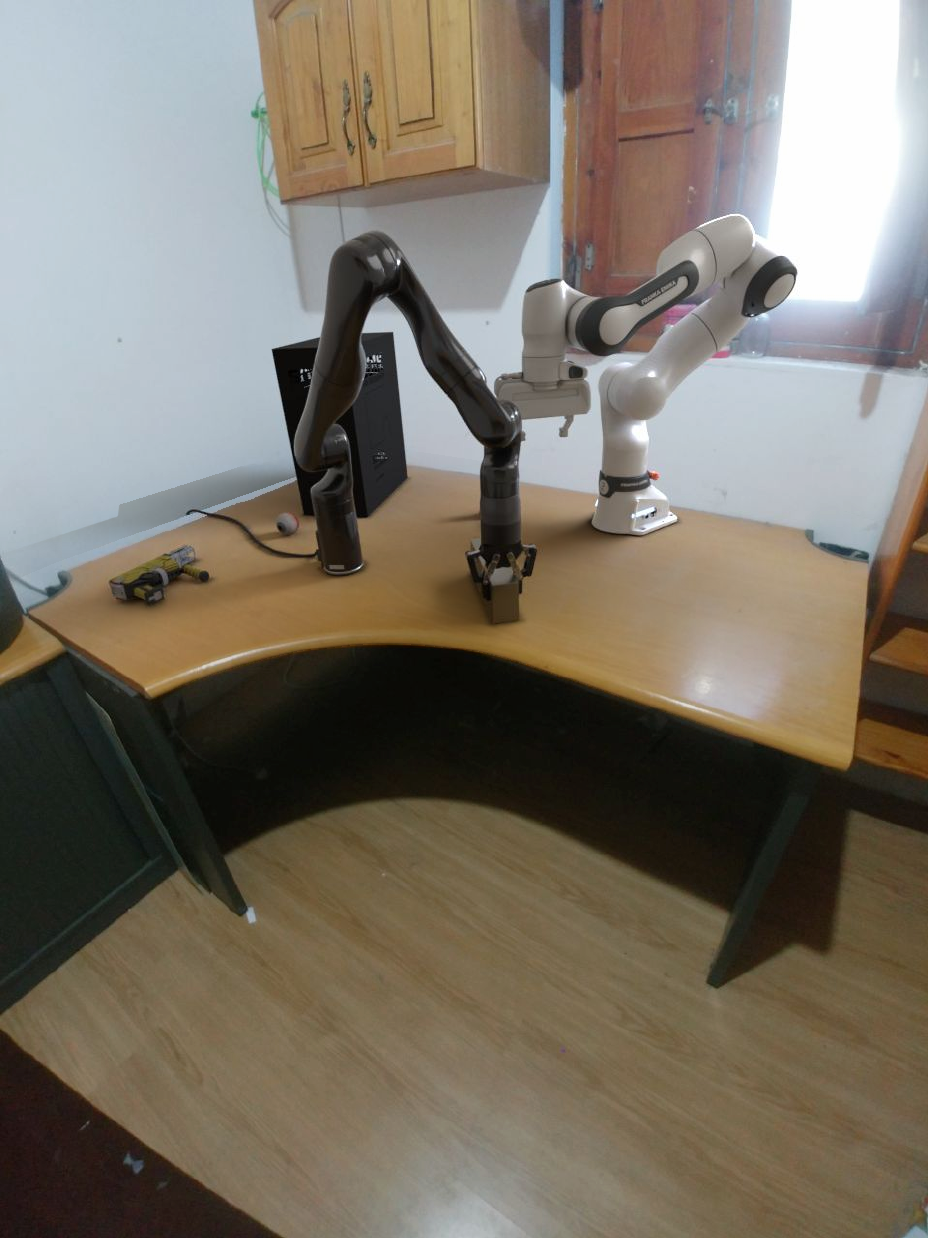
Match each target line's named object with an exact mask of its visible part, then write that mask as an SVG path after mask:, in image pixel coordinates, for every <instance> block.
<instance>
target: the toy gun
mask: <svg viewBox="0 0 928 1238" xmlns="http://www.w3.org/2000/svg"><path fill="white" fill-rule="evenodd" d="M191 553H193V556H190V554H191ZM196 560H197V556H196V551H195V547H194V546H192V545H189V546H188V545H187V544H184V545H182V546H180V547H177V548H176V549H174V550H171V551H170V552H168V553H163V554H161V555H159V556H157V557H155V558H153V559H151V560H149V561H147V562H145V563H142V564H139V565H138V566H136V567H133V568H132V569H129V570H128V571H125V572H123V573H121V574H119V575H117V576H115V577H113V578H111V579H110V580H108V583H109V587H110V591H111V594H112V597H113V598H115V600H117V601H118V600H119V601H120V602H121V601H122V602H123V601H125V600H126V601H131V600H135V599H143V600H144V601H145V605H146V607H150V606H153V605H155V604H157V603H159V602H162V601H164V600H165V596H164V591H163V590H164V589H163V588H164V587H166V586H168V585H169V581H171V580H173V579H175V578H178V577H181V575H182V574H184V575H185V576H189V577H191V578H194V579H196V580H199V581H200V582H202V583H205V582H207V581H209V580H210V573H209V572H208V571H207V570H202V569H200V568H198V567H195V566H192V565H191V564H190V563H192V562H193V561H196Z"/></svg>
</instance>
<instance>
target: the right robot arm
mask: <svg viewBox="0 0 928 1238" xmlns="http://www.w3.org/2000/svg"><path fill="white" fill-rule="evenodd" d="M655 272H656V276H655V277H653V278H651V279H650V280H648V281H647V282H645V283H643V284H642V285H640V286H638V287H637V288H635V289H633V290H631V291H630V292H628V293H627V294H624V295H619V296H616V295H615V296H603V297H601V296H590V295H588V294H585V293H583V292H581V291H579V290H577V289H575V288H573V287H571V286H570V285H569V284H568V283H566V282H565V280H564V279H562V278H550V279H545V280H542V281H538V282H534V283H533V284H531V285H529V286H528V287H527V289H526V290H525V291H524V295H523V301H522V308H521V336H522V340H523V341H522V342H523V346H522V351H521V371H519V372H512V373H511V372H510V373H501V374H500V375H499V376H498V377H496V378H495V379H494V382H493V392H494V393H493V394H494V396H495V398H496V399H497V400H508V401H510V402H512V403H513V404H515V405H516V407H517V408H518V409H519V411H520V414H521V418H522V421H525V420H534V419H535V420H536V419H546V418H547V419H548V418H557V417H559V418H560V417H564V420H565V422H564V424H563V426H562V427H559V428H558V436H559V438H567V437H568V436H569V429H570V427H571V426H572V424H573V422H574V417H575V416H577V415H578V416H579V415H587V414H588V413H589V412H590V411H591V408H592V391H591V385H590V382H589V381H588V380H587V379H586V378H587V377H588V376H589V368H588V367H586V366H585V365H582V364H579V363H576V362H574V361H572V360H566V352H567V349H568V348H573V349H578V350H581V351H585V352H587V353H590V354H591V355H593V356H597V357H610V356H612V355H615V354H616V353H618V352H619V351H621V350H622V349H624V347H625V345H627V344H628V342H629V341H630V340H631V339H632V337H633V336H634V335H635V334H636V333H637V332H638V331H639V330H640V329H641V328H643V327H644V326H646V325H647V324H648V323H650V322H651V321H653V320H654V319H656V318H658V317H659V316H662V315H663V314H664V313H666V312H668V311H669V310H671V309H672V308H673V307H675V306H677V305H678V304H679V303H681V302H683V301H684V300H686V299H688V298H691V297H693V296H695V295H697V294H698V293H701V292H702V291H705V290H706V289H708V288H711V286H713V285H715V284H717V285H718V286H719V287H718V289H717V291H716V292H715V294H713V296H711V297H710V298H708V299H707V300H705V301H703V302H702V303H700V304H699V305H697V306H696V307H695V308H694V309H692V310H691V311H690V312H688V313H687V314H686V315H685V316H683V317H682V318H681V319H680V320H678V321H677V322H676V323H674V324H673V325H672V326H671V327H670V328H668V329H667V330H666V331H665V332H664V333H662V334H661V335H660V336H659V337H658V338H657V340H656V341H655V344H654V345H653V347H652V348H651V349H650V350H649V352H648V353H647V354H646V355H645V356H644V357H643V358H642V359H641V360H640V361H639V362H638V363H636V364H634V363H631V362H618V363H615V364H612V365H610V366H608V367H607V368H605V369H604V371H602V373H601V375H600V377H599V379H598V382H597V389H598V394H599V405H600V416H601V417H600V419H601V420H600V421H601V431H602V453H601V468H600V470H599V474H598V492H599V493H598V498H597V500H596V503H595V511H594V514H593V517H592V520H591V525H592V526H593V527H594V528H595V529H597V530H599V531H601V532H605V533H611V534H623V535H625V534H626V535H632V536H633V535H634V536H645V535H646V534H650V533H652V532H654V531H657V530H660V529H662V528H665V527H668V526H670V525H672V524H675V523H677V522H678V516H677V515H676V514H675V513H674V512H672V511H670V503H669V502H670V501H669V498H668V497H667V496H666V495H665V494H664V493H663V492H661V491H660V490H659V489H658V488H656V487H655V486H654V485H652V483H651V480H653V481H658V479H659V478H660V473H659V472H657V471H654V470H651V471H649V470H648V469H647V466H648V458H649V457H648V455H649V446H650V438H649V434H648V429H647V421H648V420H651V419H653V418H655V417H657V416H658V415H659V414H660V413H661V412H662V410H663V409H664V407H665V406H666V403H667V400H668V399H669V397H670V396H671V395H672V393H673V392H674V391H675V390H676V389H677V388H678V387H679V386H680V385H681V384H682V382H683V381H684V380H685V379H686V378H688V377H689V376H690V375H691V374H692V373H693V372H695V371H696V370H697V369H699V368H700V367H701V366H702V365H704V363H706V362H707V361H708V360H709V359H711V358H712V357H713V356H715V355H716V354H717V353H719V352H720V351H721V350H722V349H723V348H725V347H726V346H728V344H729V343H730V342H731V341H733V339H735V337H737V335H738V334H739V333H740V332H741V331H742V330H743V329H744V328H745V326H747V325H748V323H749V321H750V319H751V318H755V317H758V316H760V315H762V314H766V313H767V312H770V311H771V310H774V309H775V308H777V307H778V306H780V305H781V304H782V303H783V302H784V301H786V299H787V298H788V297H789V296H790V294H791V293H792V291H793V289H794V288H795V285H796V282H797V278H798V269H797V267H796V265H795V263H794V262H793V261H792V259H791V258H790V257H789V256H788V255H786V254H784V253H783V252H781V250H779V249H778V248H777V247H776V246H775V245H774V244H773V243H771V242H770V241H769V240H767V239H765V238H763V237H761V236H759V235H757V234H755V230H754V228H753V225H752V224H751V222H750V220H749V219H748V218H747V217H745V215H741V214H738V213H734V214H733V213H732V214H729V215H726V216H722V217H719V218H716V219H713V220H711V221H708V222H706V223H704V224H701V225H700V226H698V227H696V228H694V229H692V230H690V231H688V232H687V233H684V234H682V235H681V236H679V237H678V238H676V239H675V240H674V241H672V242H671V243H670V244H668V246H666V247H665V248H664V249H663V250H662V251H661V252H660V253H659V256H658V259H657V263H656V268H655ZM526 436H527V435H526V432H525V431H524V430H522V437H521V442H525V441H526Z"/></svg>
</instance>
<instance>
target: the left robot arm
mask: <svg viewBox="0 0 928 1238" xmlns="http://www.w3.org/2000/svg"><path fill="white" fill-rule="evenodd" d="M326 284H327V285H326V293H325V307H324V315H323V320H322V326H321V331H320V336H319V337H320V341H319V346H318V350H317V354H316V358H315V362H314V367H313V372H312V378H311V377H310V378H311V384H310V385H309V386H310V389H309V393H308V397H307V401H306V405H305V408H304V411H303V414H302V417H301V420H300V423H299V425H298V428H297V431H296V434H295V440H294V453H295V457H296V460H297V463H298V464H299V466H300V467H301V468H302V469H303V470H305V471H307V472H319V471H323V470H327V469H328V471H327V473H326V475H325V476H324V477H323V478H322V479H321V480H320V481H319V482H317V483H316V484H315V485H314V486H313V487H312V488H311V498H312V503H313V508H314V514H315V515H314V518H315V523H316V530H315V532H314V533H315V538H316V539H315V540H316V543H317V548H316V549H315V551H314V553H308V554H307V553H306V554H300V553H292V552H286V551H280V550H276V549H274V548H272V547H270V546H268V545H265V544H264V543H262V542H261V541H260V540H259V539H257V538H256V537H255V536H254V534H253V533H252V532H251V531H250V530H249V528H247V527H246V526H245V524H243V523H242V522H240V521H239V520H237V519H235V518H232V517H230V516H227V515H223V514H219V513H212V512H208V511H207V512H206V511H203V510H200V509H195V508H194V509H193V508H192V509H189V510H187V512H186V513H185V515H187V516H188V515H190V514H192V513H199V514H201V515H205V516H210V517H216V518H222V519H225V520H228V521H231V522H233V523H235V524H237V525H239V526H240V527H241V528H242V529H243V530H244V531H245V532H246V533H247V534H248V536H249V537H250V539H252V540H253V541H254V542H255V543H256V544H258V545H259V546H260V547H262V548H263V549H265V550H267V551H269V552H272V553H274V554H277V555H282V556H288V557H294V558H314V557H317V558H316V559H317V561H318V562H320V565H321V568H322V569H323V570H324V572H325V573H326V574H329V575H331V576H347V575H352V574H355V573H358V572H359V571H361V570H362V569H363V568H364V565H365V564H364V563H365V562H364V559H363V552H362V545H361V538H360V533H359V532H360V531H359V526H358V524H359V523H358V519H357V518H358V517H356V511H355V505H354V498H353V475H352V465H351V454H350V446H349V441H348V438H347V435H346V433H345V431H344V429H343V428H342V427H341V426H340V425H339V424H337V423H335V422H336V421H337V420H338V419H339V418H340V417H341V416H342V415H343V414H344V413H345V412H346V411H347V410H348V409H349V408H350V407H351V406H352V404H353V403H354V402H355V400H356V399H357V397H358V395H359V393H360V390H361V386H362V383H363V380H364V377H365V372H366V368H367V363H366V355H365V352H364V349H363V346H362V343H361V335H362V333H363V330H364V327H365V324H366V321H367V318H368V316H369V313H370V312H371V310H372V308H373V307H374V306H375V304H377V303H379V302H381V301H382V300H384V299H386V298H387V299H388V300H389V301H390V302H391V303H392V304H393V305H394V306H395V307H396V308H397V309H398V310H399V311H400V313H401V314H402V315H403V317H404V318H405V320H406V322H407V324H408V326H409V328H410V330H411V333H412V336H413V339H414V342H415V346H416V348H417V352H418V354H419V355H418V356H419V357H420V360H421V363H422V365H423V367H424V369H425V371H427V373H428V375H429V376H430V377H431V379H432V380H433V381H434V382H435V383H436V385H437V386H438V387H439V388H440V389H441V391H442V392H443V393H444V395H446V397H447V398H448V399H449V400H450V401H451V402H452V403H453V404H454V407H455V408H456V410H457V412H458V413H459V415H460V417H461V419H462V420H463V422H464V424H465V426H466V427H467V429H468V430H469V432H470V433H471V435H472V436H473V437H474V439H475V440H477V441H478V442H479V444H481V446H483V460H482V461H481V463H480V468H479V487H480V498H479V512H478V513H479V515H478V516H479V522H480V523H479V524H480V527H479V528H480V538H481V545H480V547H479V550H476V551H473V552H471V550H466V551H465V553H464V555H465V559H466V562H467V565H468V569H469V573H470V575H471V579H472V581H473V582H474V584H476V583H481V591H482V595H483V598H484V599H486V601H490V584H489V581H490V579H491V576H492V575H493V573H494V571H495V569H499V568H502V567H506V568H508V567H510V568H511V570H512V571H513V573H514V575H515V577H516V578H517V580H518V582H519V595H522V594H523V580H524V579H525V578H531V577H532V575H533V573H534V568H535V564H536V559H537V555H538V549H537V547H536V546H535V544H533V543H529V544H523V542H522V501H521V496H520V495H521V494H520V467H519V466H520V456H521V446H522V441H521V437H522V431H523V420H522V418H521V414H520V411H519V409H518V408H517V407H516V405H515V404H513V403H512V402H510V401H508V400H497V399H496V395H495V394H494V393H493V392H492V391H491V390H490V387H489V386H488V381H487V380H488V379H487V377H486V374H485V373H484V371H483V370H482V368H481V367H480V366H479V365H478V363H477V362H476V361H475V360H474V359H473V358H472V356H471V355H470V354H469V352H468V351H467V350H466V348H465V347H463V345H462V344H461V343H460V341H459V340H458V339H457V338H456V336H455V335H454V334H453V332H452V331H451V329H450V327H448V325H447V324H446V322H445V321H444V319H443V317H442V315H441V314H440V313H439V311H438V310H437V307H436V305H435V304H434V302H433V301H432V299H431V297H430V296H429V294H428V292H427V291H426V289H425V287H424V286H423V284H422V282H421V281H420V279H419V278H418V276H417V274H416V272H415V271H414V269H413V267H412V266H411V264H410V262H409V260H408V259H407V257H406V255H405V253H403V251H402V250H401V248H400V247H399V245H398V244H397V243H396V241H395V240H394V239H393V238H392V237H391V236H390V235H389V234H387V233H385V232H384V231H380V230H369V231H367V232H364V233H362V234H360V235H358V236H355V237H353V238H351V239H349V240H347V241H345V242H343V243H341V244H340V245H339V246H338V247H336V249H335V250H334V252H333V253H332V255H331V258H330V261H329V266H328V272H327V283H326ZM366 373H367V372H366ZM522 553H523V554H524V556H525V558H524V562H523V567H522V568H521V569H520V566H519V565H518V561H517V560H518V559H519V557H520V556H521V554H522ZM479 556H481V557H482V558H483V559H484V560H485V563H484V567H483V571H482V574H478V572H477V568H476V565H475V563H477V562H478V558H479ZM483 598H482V599H483Z"/></svg>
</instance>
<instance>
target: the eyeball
mask: <svg viewBox="0 0 928 1238" xmlns="http://www.w3.org/2000/svg"><path fill="white" fill-rule="evenodd" d="M299 525H300V522H299V519H298V517H297V516H296V515H295V514H294V513H292V512H287V511H286V512H282V513H280V514H279V515H278V516H277V517H276V520H275V527H276V529H277V530H278V531H279V532H280V533H281V534H282V535H285V536H286V535H287V536H289V535H293V534H295V533H296V532H297V531H298V529H299Z"/></svg>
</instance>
